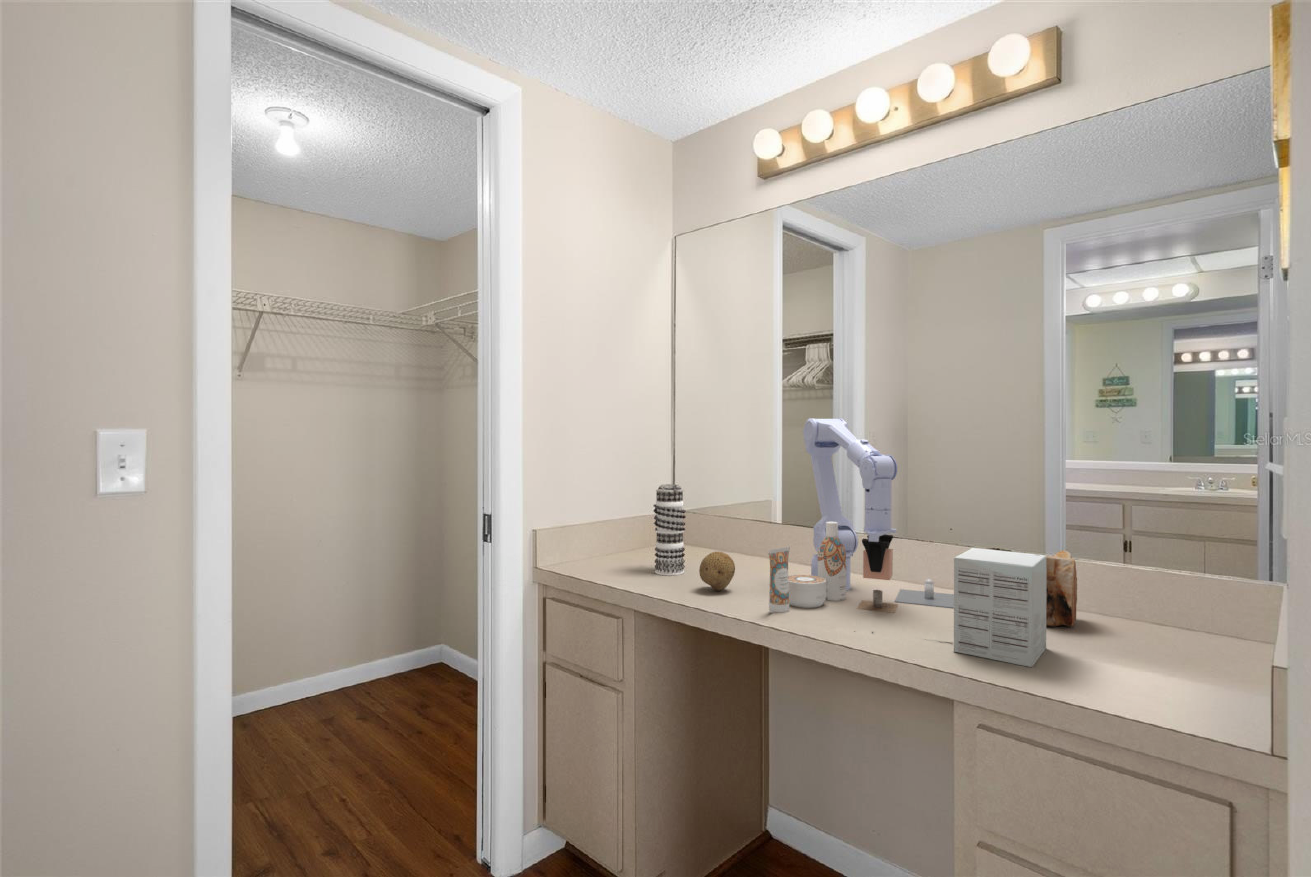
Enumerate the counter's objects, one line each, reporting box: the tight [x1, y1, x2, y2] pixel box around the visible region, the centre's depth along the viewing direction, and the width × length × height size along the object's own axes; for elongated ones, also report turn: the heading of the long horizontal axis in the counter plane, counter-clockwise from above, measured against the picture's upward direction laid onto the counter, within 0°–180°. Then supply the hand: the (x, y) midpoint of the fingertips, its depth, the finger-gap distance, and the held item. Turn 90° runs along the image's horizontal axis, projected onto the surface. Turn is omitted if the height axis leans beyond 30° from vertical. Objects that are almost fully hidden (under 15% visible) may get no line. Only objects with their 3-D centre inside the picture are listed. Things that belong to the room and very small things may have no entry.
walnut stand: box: [856, 589, 899, 614], centre depth 150 cm, size 8×8×4 cm
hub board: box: [894, 578, 954, 610], centre depth 157 cm, size 14×13×6 cm
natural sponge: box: [699, 551, 736, 592], centre depth 168 cm, size 9×9×10 cm
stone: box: [1045, 550, 1078, 628], centre depth 139 cm, size 14×9×15 cm, turn 127°
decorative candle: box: [653, 483, 687, 576], centre depth 190 cm, size 9×9×25 cm
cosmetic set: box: [768, 522, 847, 614], centre depth 153 cm, size 25×9×19 cm, turn 127°
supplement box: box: [953, 547, 1047, 668], centre depth 123 cm, size 13×13×18 cm
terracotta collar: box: [862, 548, 894, 581], centre depth 150 cm, size 6×6×6 cm
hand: (877, 569), depth 150 cm, fingers closed on terracotta collar, 6 cm apart
